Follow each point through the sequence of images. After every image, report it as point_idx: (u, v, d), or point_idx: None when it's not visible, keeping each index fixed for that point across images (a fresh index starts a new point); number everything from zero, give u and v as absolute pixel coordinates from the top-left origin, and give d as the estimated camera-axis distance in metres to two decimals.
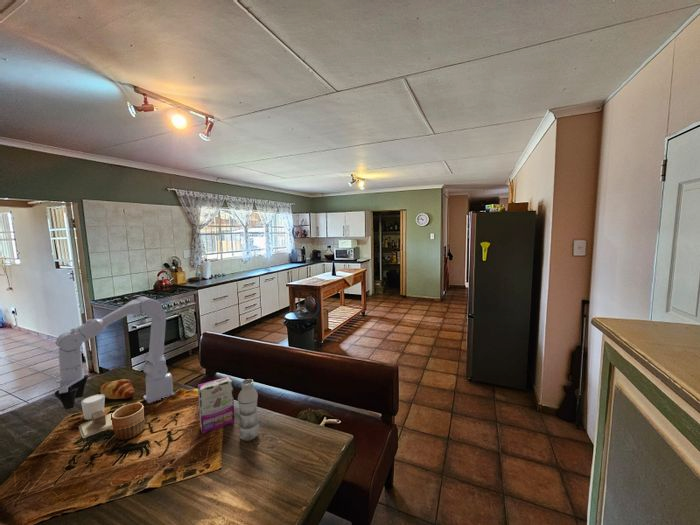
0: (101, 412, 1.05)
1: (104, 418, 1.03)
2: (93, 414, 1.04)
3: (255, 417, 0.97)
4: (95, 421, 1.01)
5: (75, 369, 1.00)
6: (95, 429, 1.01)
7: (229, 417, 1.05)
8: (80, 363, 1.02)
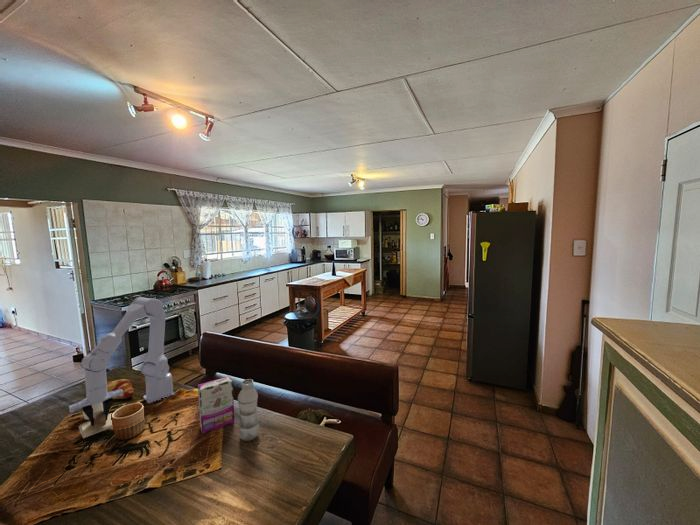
0: (101, 412, 1.05)
1: (104, 418, 1.03)
2: (93, 414, 1.04)
3: (255, 417, 0.97)
4: (95, 421, 1.01)
5: (89, 392, 1.00)
6: (95, 429, 1.01)
7: (229, 416, 1.05)
8: (106, 382, 1.04)
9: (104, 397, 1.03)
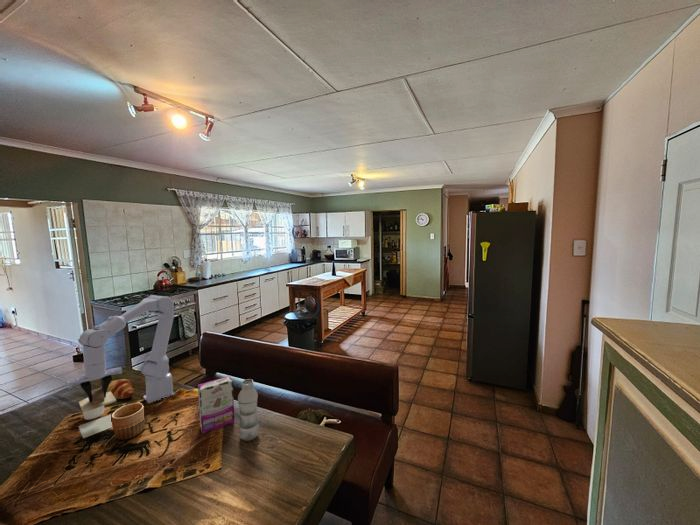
0: (99, 389, 1.04)
1: (102, 395, 1.03)
2: (91, 391, 1.03)
3: (255, 417, 0.97)
4: (93, 398, 1.01)
5: (88, 368, 1.00)
6: (93, 405, 1.00)
7: (229, 417, 1.05)
8: (104, 359, 1.04)
9: (102, 374, 1.02)
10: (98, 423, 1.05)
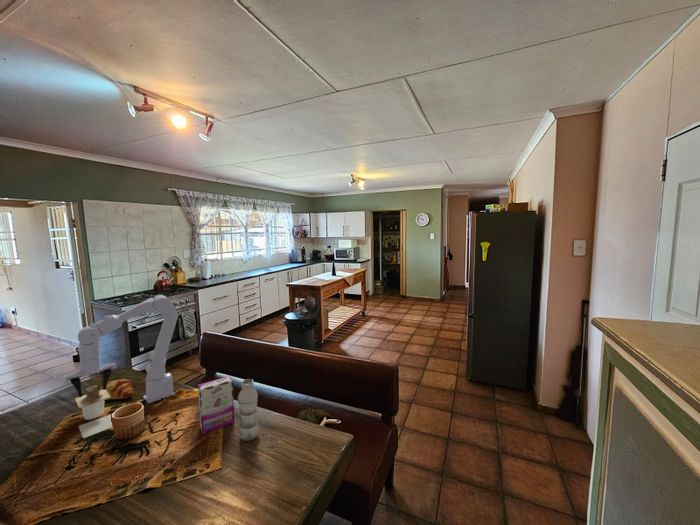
0: (95, 387, 1.10)
1: (98, 392, 1.09)
2: (87, 388, 1.09)
3: (255, 417, 0.97)
4: (89, 394, 1.07)
5: (83, 363, 1.06)
6: (89, 402, 1.06)
7: (229, 416, 1.05)
8: (97, 356, 1.08)
9: (97, 369, 1.08)
10: (98, 423, 1.05)
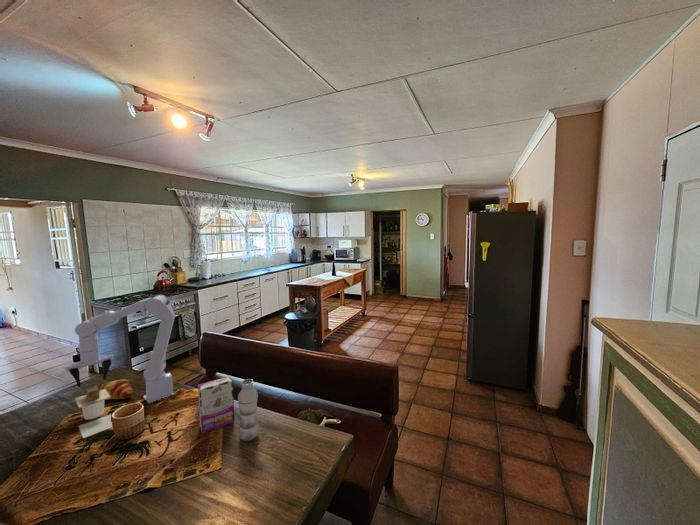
0: (95, 387, 1.10)
1: (98, 392, 1.09)
2: (87, 388, 1.09)
3: (255, 417, 0.97)
4: (89, 394, 1.07)
5: (83, 354, 1.11)
6: (89, 402, 1.06)
7: (229, 416, 1.05)
8: (93, 349, 1.13)
9: (96, 360, 1.14)
10: (98, 423, 1.05)
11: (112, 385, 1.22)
